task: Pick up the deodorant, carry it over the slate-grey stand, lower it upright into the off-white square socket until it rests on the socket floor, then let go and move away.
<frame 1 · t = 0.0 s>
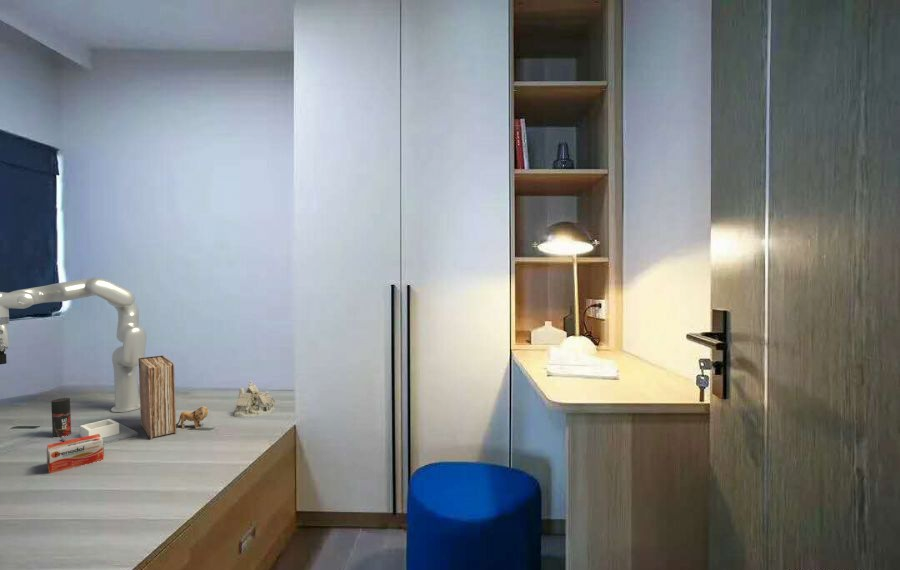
deodorant: (62, 435, 186), on the worktop
medicine box: (75, 464, 158), on the worktop
lion figurine: (193, 427, 195), on the worktop
socket stand: (100, 437, 183), on the worktop
ceramic cottage: (254, 413, 214), on the worktop
book: (157, 429, 193), on the worktop
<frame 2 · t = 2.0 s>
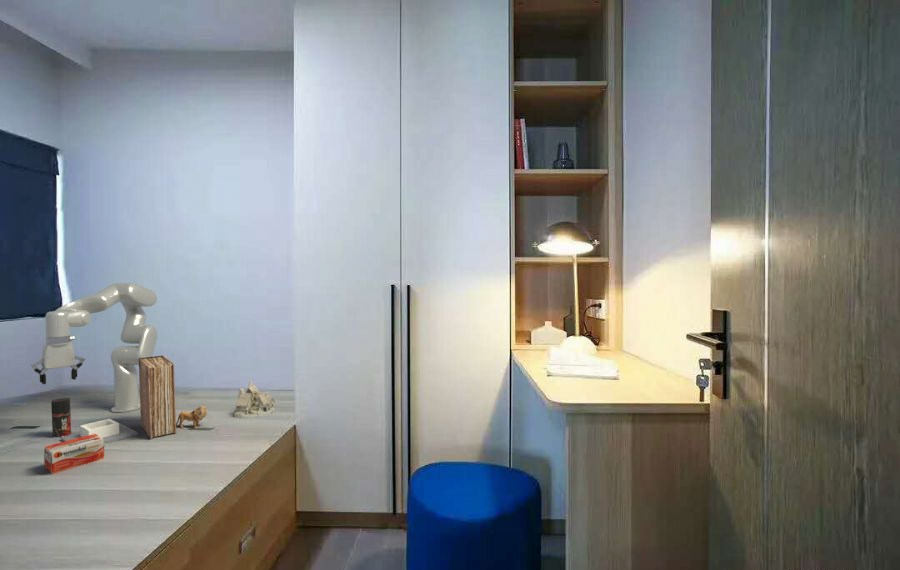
hand: (59, 381, 185), 23 cm above the worktop, tool pointing down, fingers open, 9 cm apart
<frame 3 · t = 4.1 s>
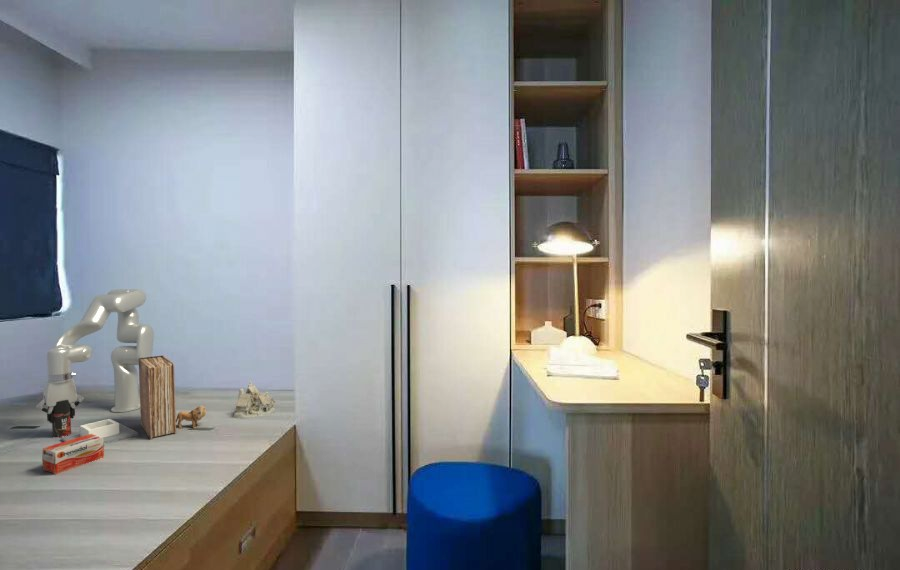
hand: (61, 419, 186), 7 cm above the worktop, tool pointing down, fingers closed on deodorant, 5 cm apart
deodorant: (62, 435, 186), on the worktop, touching gripper
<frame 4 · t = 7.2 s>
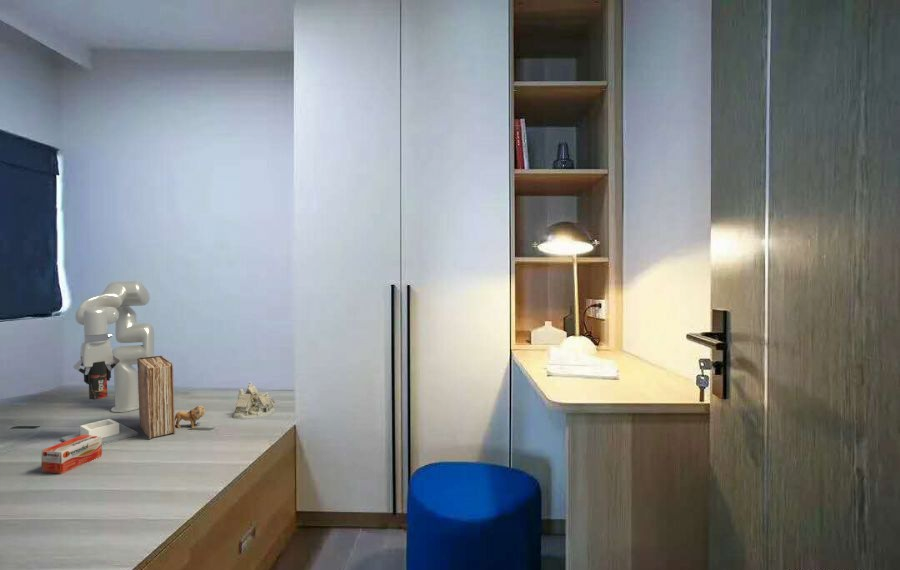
hand: (97, 381, 182), 23 cm above the worktop, tool pointing down, fingers closed on deodorant, 5 cm apart
deodorant: (98, 397, 183), point 17 cm above the worktop, touching gripper
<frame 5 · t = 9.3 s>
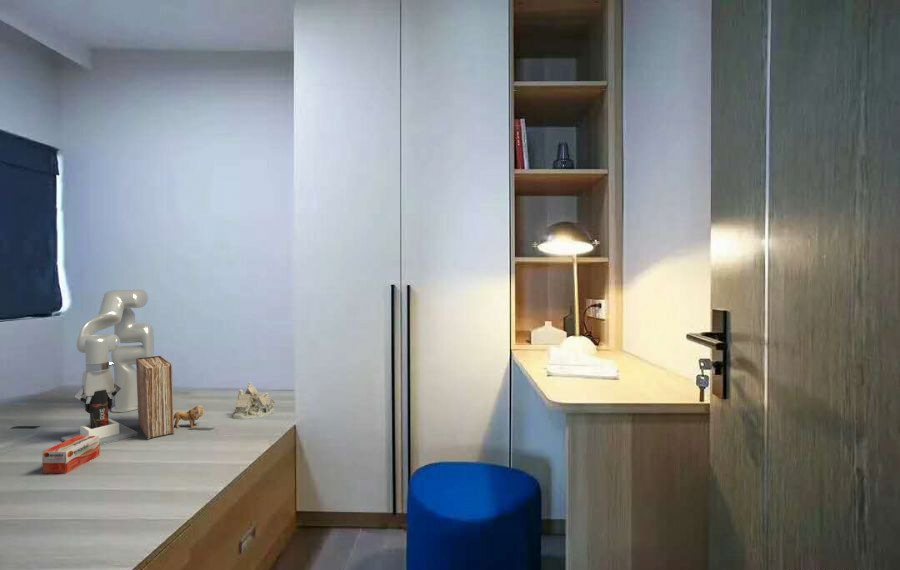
hand: (99, 409, 183), 12 cm above the worktop, tool pointing down, fingers closed on deodorant, 5 cm apart
deodorant: (99, 426, 183), point 5 cm above the worktop, touching gripper
when the fingers open (9 cm above the worktop, at t = 10.3 s): deodorant drops 2 cm, resting on socket stand.
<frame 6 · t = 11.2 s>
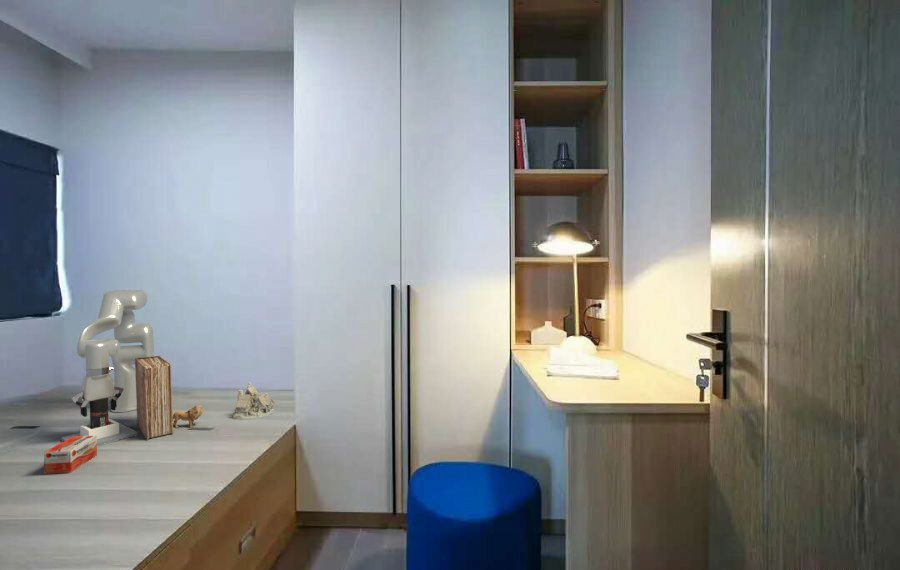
hand: (99, 412, 183), 10 cm above the worktop, tool pointing down, fingers open, 9 cm apart
deodorant: (99, 434, 183), point 1 cm above the worktop, touching socket stand
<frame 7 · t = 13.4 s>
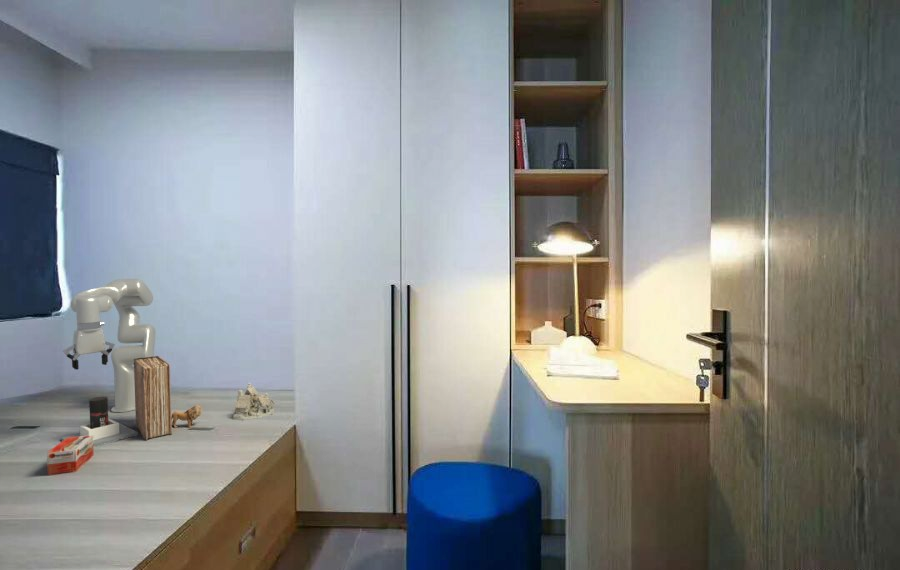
hand: (90, 366, 186), 29 cm above the worktop, tool pointing down, fingers open, 9 cm apart
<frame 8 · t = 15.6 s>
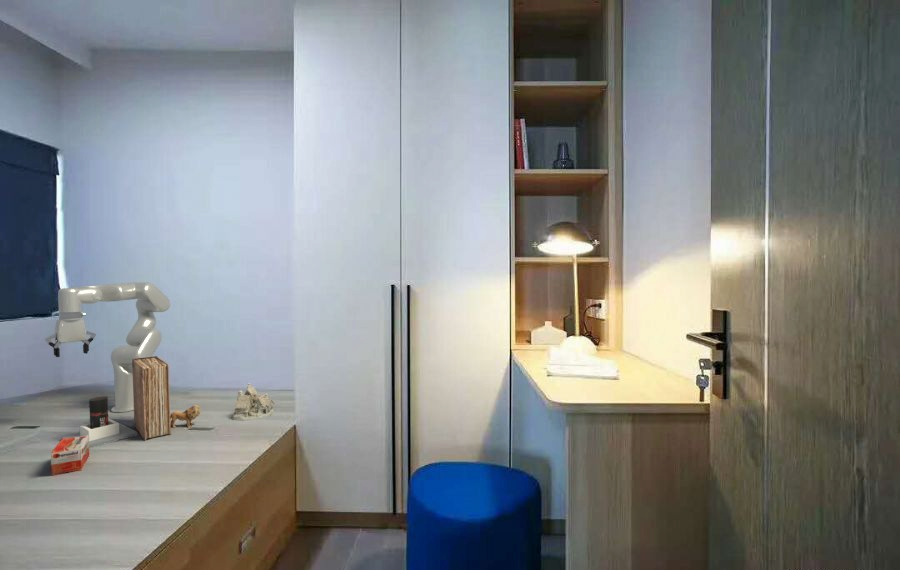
hand: (71, 355, 194), 32 cm above the worktop, tool pointing down, fingers open, 9 cm apart
at the end: deodorant 0.2 cm off-centre on the socket stand, point 1.0 cm above the socket stand's base; deodorant tilted 0°; the gripper is holding nothing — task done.
